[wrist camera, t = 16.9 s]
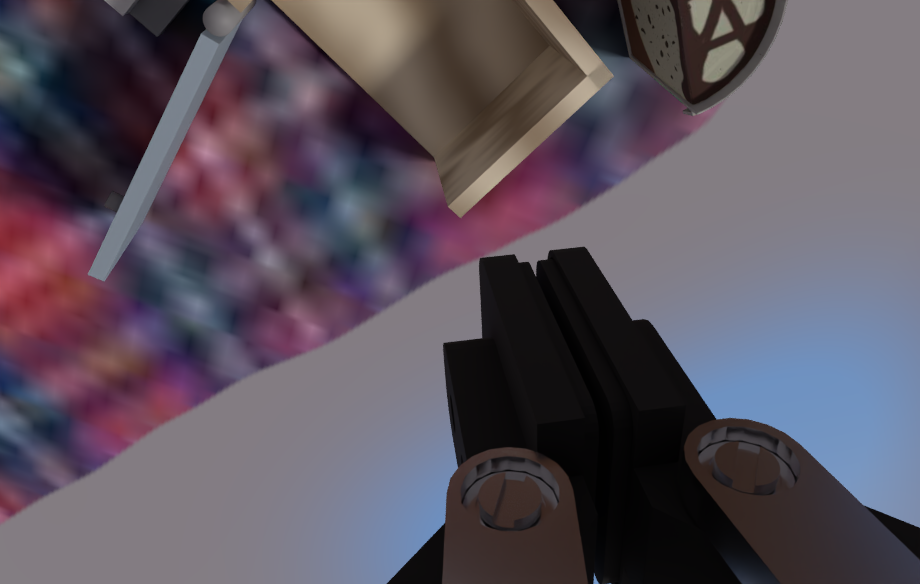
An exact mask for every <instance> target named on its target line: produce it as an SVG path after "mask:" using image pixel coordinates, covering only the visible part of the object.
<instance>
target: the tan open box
mask: <svg viewBox="0 0 920 584" xmlns="http://www.w3.org/2000/svg"><path fill="white" fill-rule="evenodd" d="M228 1H229V2H230V3H231V4H232V5H233V6H234V7H235V8H236V9H237V10H238V11H239V12H240V13H241V12H242V11H243V10H244V9H245V8H246V7H247V6H248V5H249V4H250V3H251V2H252V1H253V0H228ZM272 1H273V2H274V3H275V4H276V5H277V6H278V7H279V8H280V9H281V10H282V11H283V12H284V13H285V14H286V15H287V16H288V17H289V18H290V19H291V20H292V21H294V22H295V23H296V24H297V25H298V26H299V27H300V28H301V29H302V30H303V31H304V32H305V33H306V34H307V35H308V36H309V37H310V38H311V39H312V40H313V41H314V42H315V43H316V44H317V45H318V46H319V47H320V48H321V49H322V50H323V51H325V52H326V53H327V54H328V55H329V56H330V57H331V58H332V59H333V60H334V61H335V62H336V63H337V64H338V65H339V66H340V67H341V68H342V69H343V70H344V71H345V72H346V73H347V74H348V75H349V76H350V77H351V78H352V79H353V80H355V81H356V82H357V83H358V84H359V85H360V86H361V87H362V88H363V89H364V90H365V91H366V92H367V93H368V94H369V95H370V96H371V97H372V98H373V99H374V100H375V101H376V102H377V103H378V104H379V105H380V106H381V107H382V108H383V109H385V110H386V111H387V112H388V113H389V114H390V115H391V116H392V117H393V118H394V119H395V120H396V121H397V122H398V123H399V124H400V125H401V126H402V127H403V128H404V129H405V130H406V131H407V132H408V133H409V134H410V135H411V136H412V137H413V138H415V139H416V140H417V141H418V142H419V143H420V144H421V145H422V146H423V147H424V148H425V149H426V150H427V151H428V152H429V153H430V154H431V155H432V156H433V157H434V159H435V163H436V166H437V170H438V173H439V177H440V180H441V184H442V187H443V191H444V194H445V198H446V201H447V205H448V207H449V208H450V209H451V210H452V211H453V212H454V213H456V214H457V215H458V216H459V217H460V218H461V217H462V216H463V215H464V214H465V213H466V212H467V211H468V210H469V209H470V208H471V207H473V206H474V205H475V204H476V203H477V202H478V201H479V200H480V199H481V198H482V197H483V196H485V195H486V194H487V193H488V192H489V191H490V190H491V189H492V188H493V187H494V186H495V185H496V184H498V183H499V182H500V181H501V180H502V179H503V178H504V177H505V176H506V175H507V174H508V173H509V172H511V171H512V170H513V169H514V168H515V167H516V166H517V165H518V164H519V163H520V162H521V161H522V160H524V159H525V158H526V157H527V156H528V155H529V154H530V153H531V152H532V151H533V150H534V149H535V148H537V147H538V146H539V145H540V144H541V143H542V142H543V141H544V140H545V139H546V138H547V137H548V136H550V135H551V134H552V133H553V132H554V131H555V130H556V129H557V128H558V127H559V126H560V125H562V124H563V123H564V122H565V121H566V120H567V119H568V118H569V117H570V116H571V115H572V114H573V113H575V112H576V111H577V110H578V109H579V108H580V107H581V106H582V105H583V104H584V103H585V102H586V101H588V100H589V99H590V98H591V97H592V96H593V95H594V94H595V93H596V92H597V91H598V90H599V89H601V88H602V87H603V86H604V85H605V84H606V83H607V82H608V81H609V80H610V79H611V78H612V77H614V76H613V74H612V73H611V72H610V71H609V69H608V68H607V67H606V66H605V65H604V63H603V62H602V61H601V60H600V58H599V57H598V56H597V55H596V53H595V52H594V51H593V50H592V48H591V47H590V46H589V45H588V43H587V42H586V41H585V40H584V38H583V37H582V36H581V35H580V33H579V32H578V31H577V30H576V28H575V27H574V26H573V25H572V23H571V22H570V21H569V20H568V18H567V17H566V16H565V15H564V13H563V12H562V11H561V10H560V8H559V7H558V6H557V5H556V3H555V2H554V1H553V0H272Z"/></svg>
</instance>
